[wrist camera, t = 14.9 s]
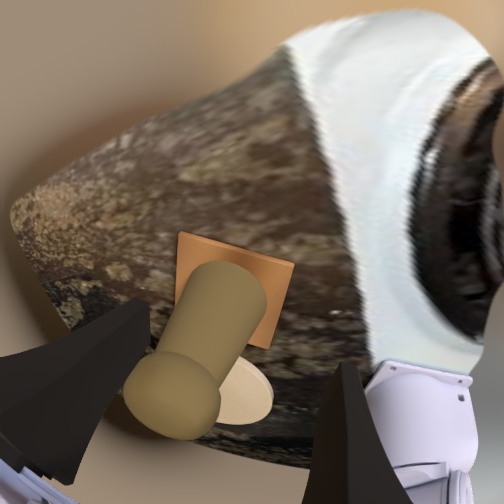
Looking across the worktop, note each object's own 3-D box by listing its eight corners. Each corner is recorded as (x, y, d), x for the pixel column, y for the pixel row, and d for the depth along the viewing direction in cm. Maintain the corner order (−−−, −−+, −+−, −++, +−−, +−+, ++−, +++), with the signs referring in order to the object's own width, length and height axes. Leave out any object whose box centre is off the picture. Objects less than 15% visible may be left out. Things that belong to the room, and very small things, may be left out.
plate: (287, 367, 26) (286, 374, 25) (260, 429, 32) (258, 435, 31) (156, 324, 27) (152, 329, 27) (160, 395, 34) (157, 400, 33)
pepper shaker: (220, 337, 25) (163, 453, 16) (172, 280, 24) (87, 389, 14) (283, 314, 22) (240, 452, 13) (233, 246, 21) (151, 375, 12)
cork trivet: (294, 263, 21) (293, 267, 20) (269, 345, 25) (268, 350, 25) (181, 230, 22) (178, 233, 22) (176, 315, 26) (174, 319, 26)
